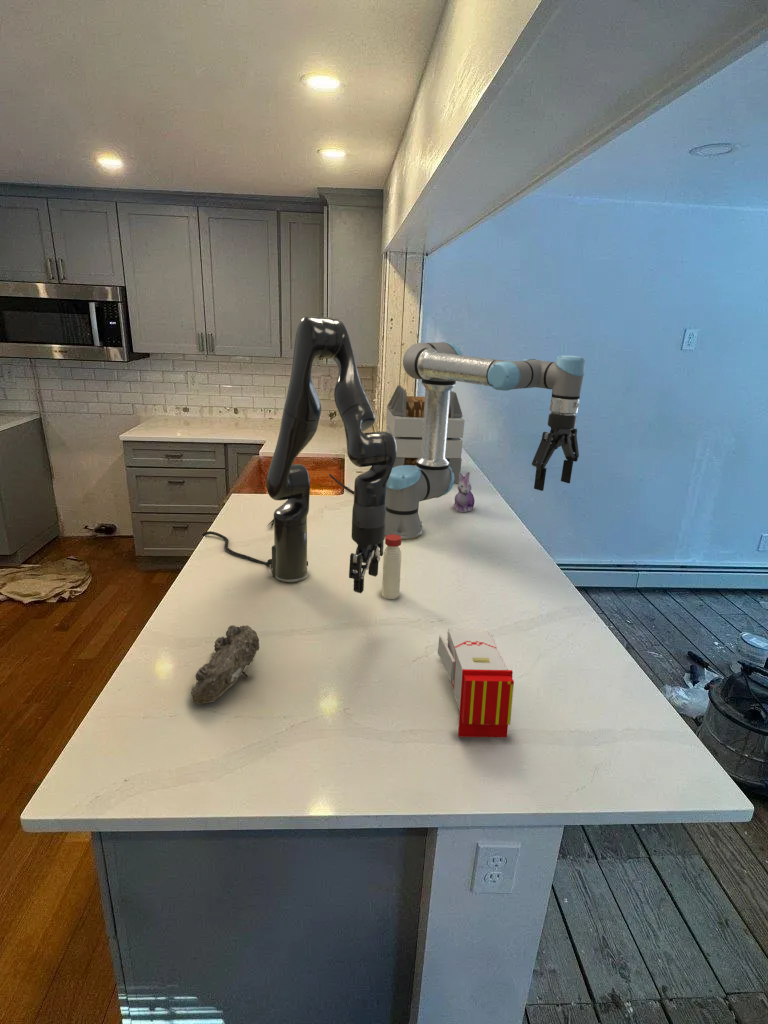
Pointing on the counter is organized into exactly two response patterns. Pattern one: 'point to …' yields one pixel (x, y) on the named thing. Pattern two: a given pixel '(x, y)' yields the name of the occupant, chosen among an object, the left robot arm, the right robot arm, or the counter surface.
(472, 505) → the figurine
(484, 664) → the toy
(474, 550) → the counter surface
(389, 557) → the bottle
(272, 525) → the feather
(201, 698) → the fossil
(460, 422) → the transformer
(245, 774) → the counter surface
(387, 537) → the cap
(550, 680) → the counter surface
